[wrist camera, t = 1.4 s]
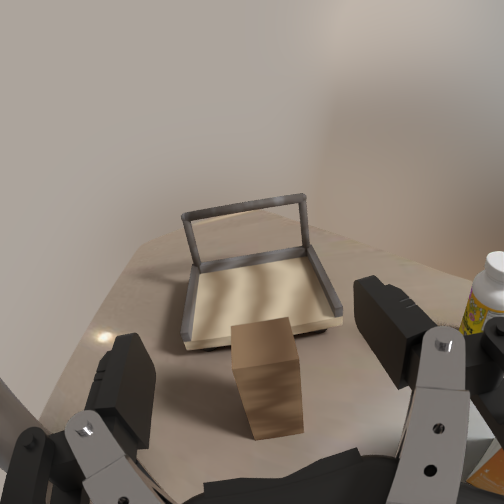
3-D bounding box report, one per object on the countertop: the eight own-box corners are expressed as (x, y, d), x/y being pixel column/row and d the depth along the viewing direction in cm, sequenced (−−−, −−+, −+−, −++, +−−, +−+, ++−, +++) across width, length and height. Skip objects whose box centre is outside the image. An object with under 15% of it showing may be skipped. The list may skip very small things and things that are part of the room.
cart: (191, 360, 39) (157, 269, 33) (199, 288, 55) (178, 212, 48) (341, 336, 39) (343, 239, 32) (312, 269, 54) (306, 191, 48)
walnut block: (255, 440, 28) (231, 369, 22) (251, 403, 32) (230, 325, 27) (303, 432, 28) (299, 358, 22) (296, 396, 32) (288, 316, 27)
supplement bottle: (454, 326, 36) (475, 243, 30) (495, 331, 32) (521, 249, 26) (454, 362, 31) (483, 274, 25) (498, 366, 27) (535, 281, 21)
